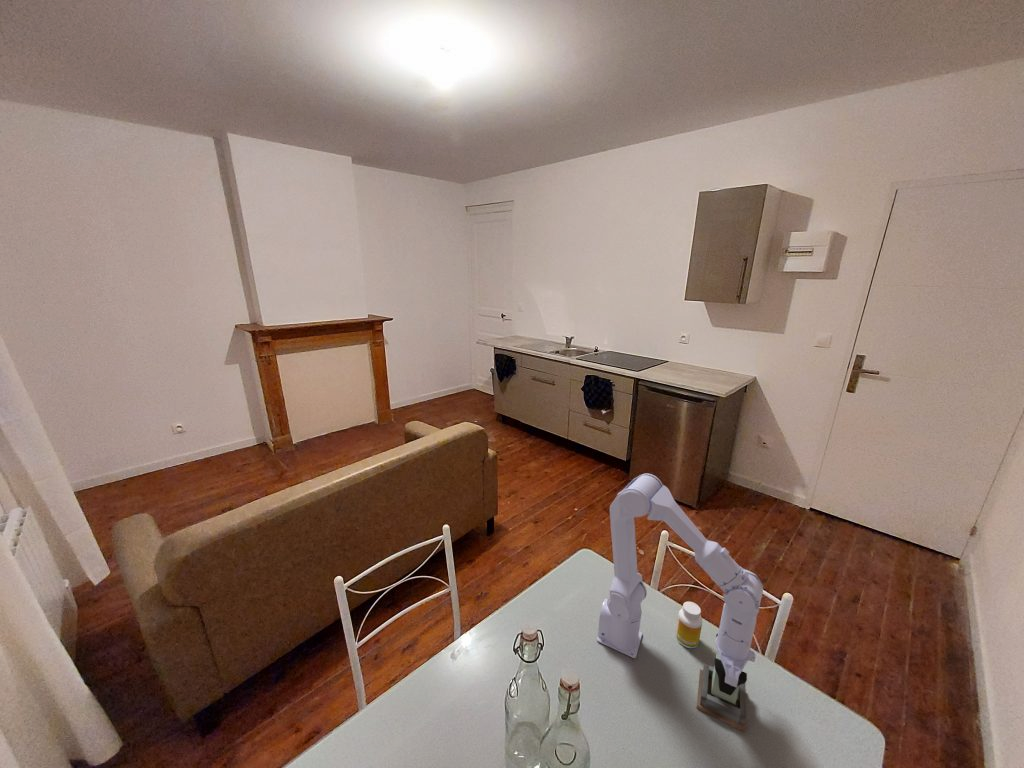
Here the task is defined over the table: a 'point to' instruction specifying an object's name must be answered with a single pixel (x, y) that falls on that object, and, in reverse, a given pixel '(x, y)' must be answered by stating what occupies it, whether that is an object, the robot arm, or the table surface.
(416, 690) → the table surface
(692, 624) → the supplement bottle
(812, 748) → the table surface
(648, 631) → the table surface
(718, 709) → the grey square socket
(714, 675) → the peg
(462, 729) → the table surface
